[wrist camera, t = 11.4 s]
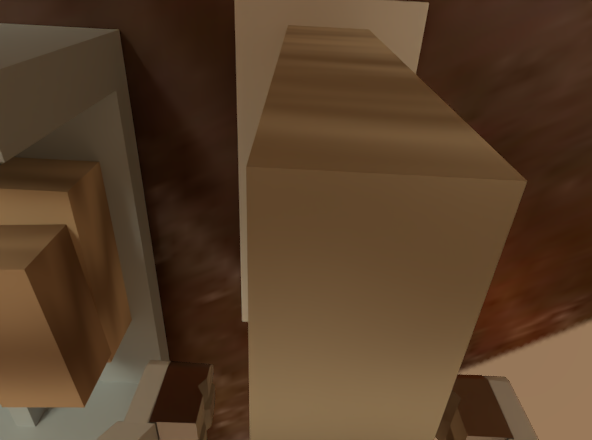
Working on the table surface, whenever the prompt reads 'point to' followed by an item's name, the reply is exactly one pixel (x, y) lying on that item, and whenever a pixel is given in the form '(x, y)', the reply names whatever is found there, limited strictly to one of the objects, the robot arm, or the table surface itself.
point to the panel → (364, 243)
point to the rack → (118, 185)
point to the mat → (266, 48)
